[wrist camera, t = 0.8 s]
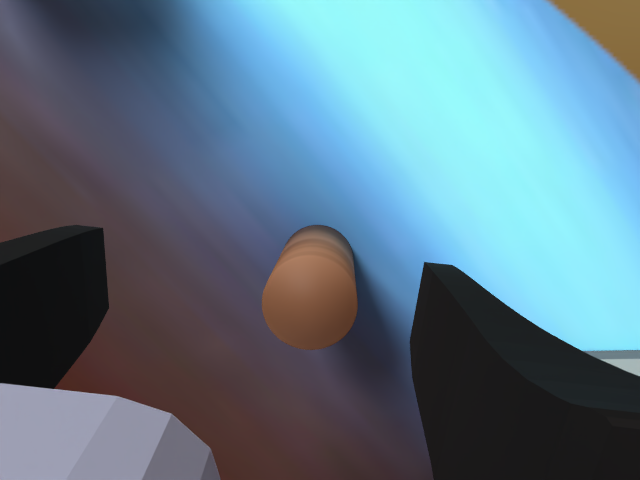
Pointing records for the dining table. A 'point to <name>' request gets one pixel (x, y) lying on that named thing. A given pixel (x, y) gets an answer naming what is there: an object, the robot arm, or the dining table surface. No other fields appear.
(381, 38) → the dining table surface
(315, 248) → the peg
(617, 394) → the robot arm
